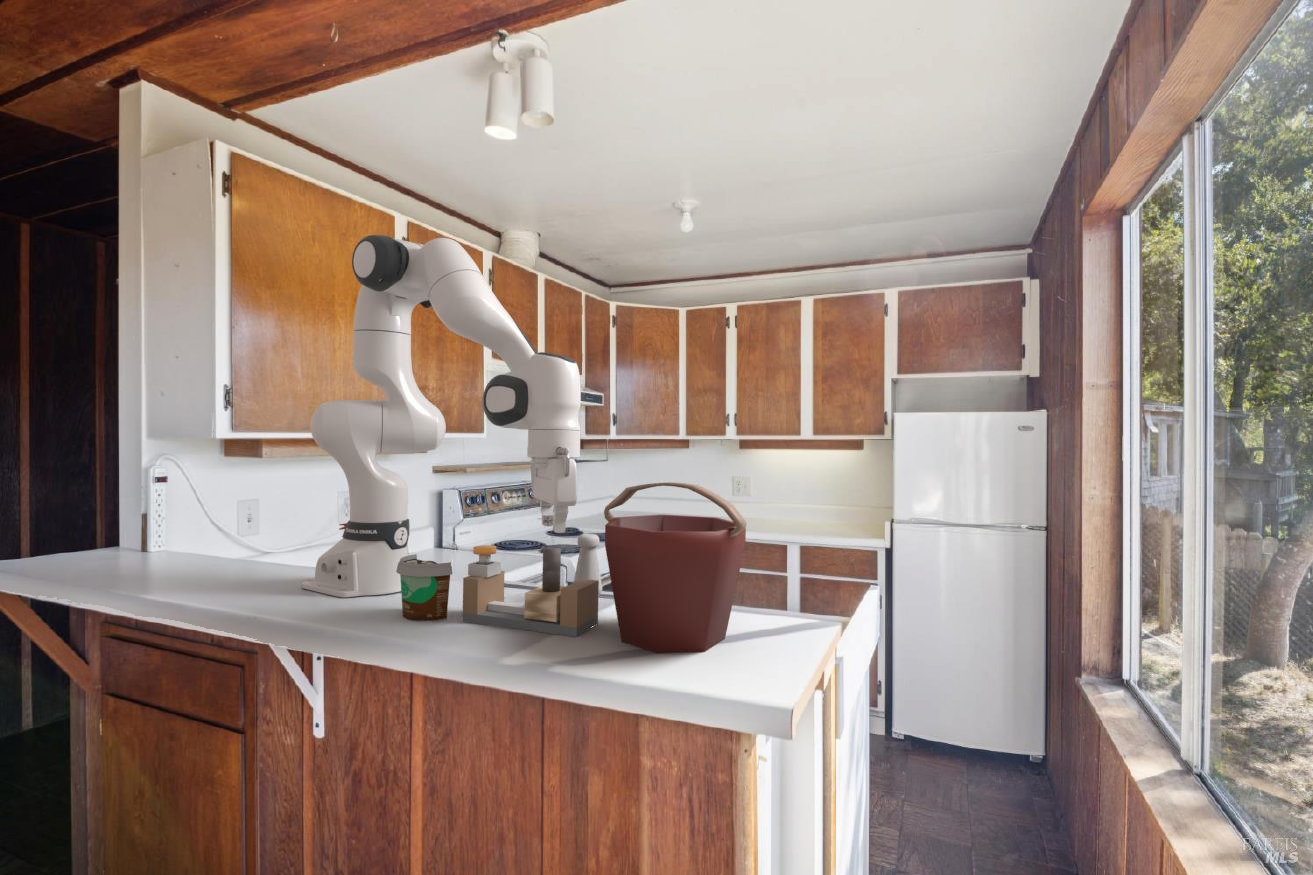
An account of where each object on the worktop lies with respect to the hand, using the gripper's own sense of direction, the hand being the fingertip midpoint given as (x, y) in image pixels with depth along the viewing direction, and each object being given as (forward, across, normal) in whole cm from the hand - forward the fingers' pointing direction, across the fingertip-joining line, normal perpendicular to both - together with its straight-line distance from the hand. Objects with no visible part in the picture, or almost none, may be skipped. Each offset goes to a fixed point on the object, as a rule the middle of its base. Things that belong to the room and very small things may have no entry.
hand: (553, 529), depth 111 cm
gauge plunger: (+7, +9, +10) cm, 16 cm away
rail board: (+16, +3, +3) cm, 17 cm away
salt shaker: (+16, +16, -10) cm, 25 cm away
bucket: (+17, -11, -18) cm, 27 cm away
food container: (+16, +13, +22) cm, 30 cm away
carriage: (+15, +1, 0) cm, 15 cm away
